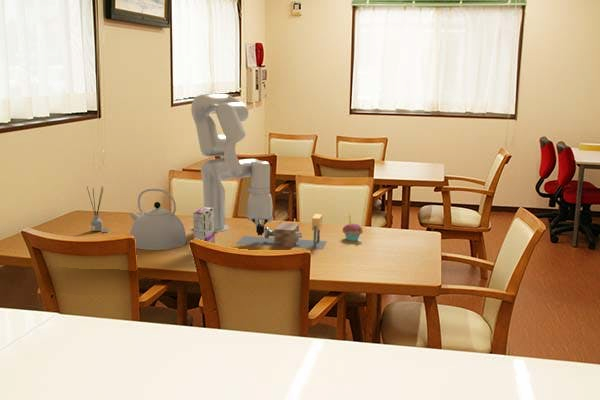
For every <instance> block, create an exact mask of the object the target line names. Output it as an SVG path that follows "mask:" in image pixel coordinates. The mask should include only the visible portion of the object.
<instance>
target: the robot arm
mask: <svg viewBox="0 0 600 400" xmlns="http://www.w3.org/2000/svg"><path fill="white" fill-rule="evenodd" d="M190 108H191V109H190V112H191V116H192V119H193V121H194V124H195V128H196V133H197V137H198V144H199V149H200V152H201V154H202V155H203V156H205V157H208V158H209V157H220V158H213V159H209V160H205V162H203V163H202V164H201V166H200V174H201V179H202V180H201V181H202V188H203V189H202V192H203V193H202V194H203V207H209V208H214V233H222V232H225V231H228V230H229V228H230V227H229V226H228V225H227V224H226V191H225V190H226V189H225V187H224V185H223V183H222V181H225V180H226V181H227V180H233V179H244V178H250V177H251V183H250V184H251V187H248V188H247V192H250V194H249V195H248V200H247V211H246V213H247V220H248V221H250V222H253V223H254V225H255V226H256V227H255V229H256V233H257V236H263V235H264V234H265V225H266V224H267V223H271V222H273V221H274V217H273V216H274V207H273V206H274V205H273V198H272V194H271V193H270V191H271V189H270V188H271V187H270V185H271V184H270V183H271V182H270V179H271V178H270V177H271V176H270V175H271V172H270V171H271V165H270V163H269V161H265V160H259V159H258V158H245V159H244V158H243V159H242V158H241V159H238V156H237V151H236V145H237V143H240V142H241V141H242V140H243V139H245V137H246V131H245V129H244V125H243V124H242V122H244V121H246V120H247V119H248V118H249V109H248V107H247V106H246V104H245V103H244V102H243V101H241V100H239V99H237V98H235V97H233V96H232V95H229V94H226V93H203V94H199V95H197V96H195V97H194V98H193V101H192V103H191V107H190ZM210 114H216V117H217V119H218V122H219V124H220V126H221V130H222V132H223V133H220V134H219V133H218V129H217V126H216V123H215V120H214V119H213V118H212V117H211V116H210ZM260 220H261V222H260Z"/></svg>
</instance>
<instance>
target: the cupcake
mask: <svg viewBox="0 0 600 400" xmlns="http://www.w3.org/2000/svg"><path fill="white" fill-rule="evenodd" d="M348 220H349V221H348V224H346V225H344V226H343V227H342V233H344V236H345V239H346V240H347V241H353V242H355V241H356V242H358V241H359V238H360V236H361V234H363V232H364V230H363V227H361V226H360V225H359V224H356V223H352V219H351V214H348Z"/></svg>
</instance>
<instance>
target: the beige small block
mask: <svg viewBox="0 0 600 400" xmlns="http://www.w3.org/2000/svg"><path fill="white" fill-rule="evenodd" d="M314 226H317V231H319V230H320V231H321V229H322V227H323V214H322V213H314V215H313V216H312V217H311V231H314Z"/></svg>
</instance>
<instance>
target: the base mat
mask: <svg viewBox="0 0 600 400" xmlns="http://www.w3.org/2000/svg"><path fill="white" fill-rule="evenodd" d="M313 241H314V239H312V240H311V239H301V238H299V240H298V241H297V243H296V244H295V246H294V247H291V248H294V249H295V248H296V249H307V250H308V249H310V250H324V248H325V246H326V244H327V243H328V241H327V240H320V242H317V240H316V248H313ZM235 245H252V246H264V247H268V246H269V247H275V246H274V237H269V238H265V236H252V235H243V236H242V237H241V238H240V239H239V240H237V242H236V243H235ZM276 247H280V248H285V247H284V246H276Z"/></svg>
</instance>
